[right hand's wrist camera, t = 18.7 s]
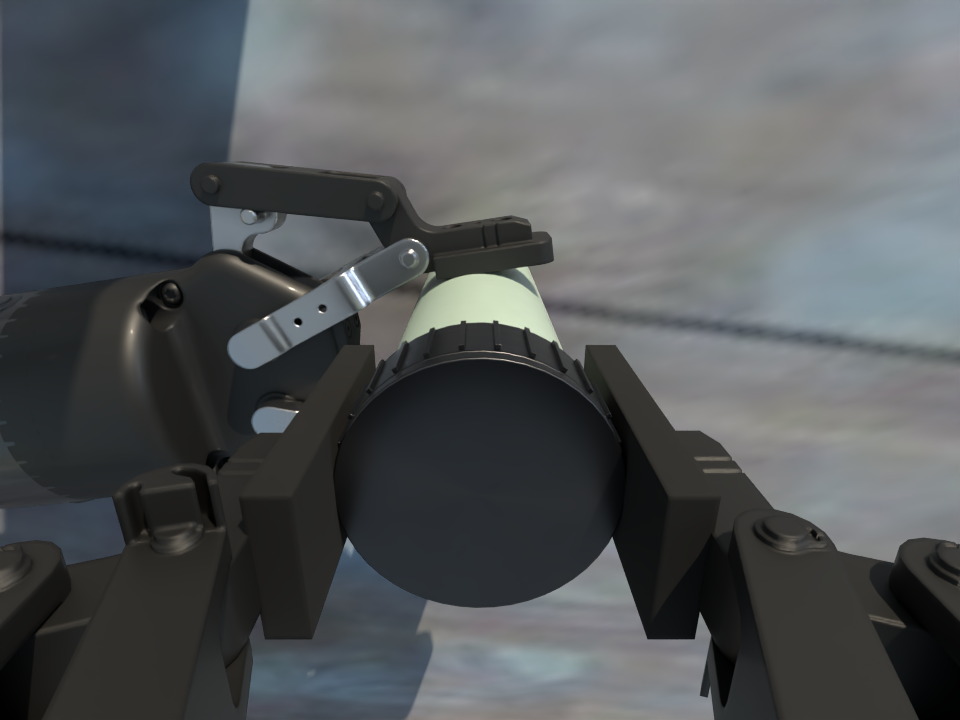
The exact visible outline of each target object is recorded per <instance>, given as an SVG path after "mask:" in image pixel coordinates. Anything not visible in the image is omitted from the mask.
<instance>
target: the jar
mask: <svg viewBox="0 0 960 720" xmlns="http://www.w3.org/2000/svg"><path fill="white" fill-rule="evenodd" d="M465 320H466V323H478V322H486V323H493V320H495V321H498V322H499V324H504V325H509V326H513V327H518V328H521V329H523V330H524V327H527V328H529V329H530V332H532V333H535V334H537V335H538V336H540V337H542V338H544V339H546V340H548V341H550V342H552V341H553V340H554V341H556V342H557V343H558V346H559V348H560V349H562V347H561V345H560V342H559V340H558V338H557V335H556V333H555V330H554V328H553V326H552V323H551V321H550V318H549V316H548V314H547V311H546V309H545V306H544V304H543V302H542V299H541V297H540V294H539V292H538V290H537V287H536V285H535V283H534V280H533V278H532V275H531V273H530V271H529V268H528V267H521V268H514V269H507V270H500V271H493V272H487V273H480V274H471V275H464V276H459V277H452V278H445V279H438V280H437V279H436V273H435V272H429V275H428V277H427V279H426V282H425V284H424V287H423V289H422V291H421V294H420V296H419V299H418V301H417V303H416V306H415V308H414V311H413V313H412V315H411V318H410V320H409V322H408V325H407V327H406V330H405V332H404V334H403V337H402V339H401V342H400V344H399V346H398V349H400V347H401V344H402V343H403V342H404V341H407V342H408V343H409V342H410V341H412V340H414V339H415V338H417V337H419V336H421V335H424V334H426V333H428V332H429V330H430V328H433V327H435V329H440V328H443V327H446V326H450V325H457V324H461V321H465ZM398 349H397V350H398Z"/></svg>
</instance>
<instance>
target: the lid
mask: <svg viewBox="0 0 960 720" xmlns="http://www.w3.org/2000/svg"><path fill="white" fill-rule="evenodd" d="M347 418H348V419H349V420H348V422H347V424H346V426H345V429H344V431H343V433H342V435H341V437H340V439H339V441H338V444H337V446H338V447H339V449H338V452H337V455H336V459H335V465H334V472H333V480H334V490H335V499H336V507H337V512H338V515H339V519H340V522H341V524H342V526H343V528H344V530H345V532H346V535H347V537H348V538H349V540H350V541H351V543H352V544H353V546H354V547H355V549H356V550H357V552H358V553H359V554H360V555H361V556H362V557H363V559H364V560H365V561H366V562H367V563H368V564H369V565H370V566H371V567H372V568H373V569H375V570H376V571H377V572H378V573H379V574H380V575H382V576H383V577H385V578H386V579H387V580H389V581H390V582H392V583H393V584H395V585H397V586H398V587H400V588H402V589H404V590H406V591H408V592H410V593H412V594H415V595H417V596H420V597H422V598H425V599H428V600H431V601H435V602H439V603H442V604H448V605H454V606H460V607H474V608H482V607H499V606H506V605H513V604H517V603H521V602H525V601H529V600H532V599H534V598H537V597H540V596H543V595H545V594H547V593H550V592H552V591H554V590H556V589H558V588H560V587H561V586H563V585H565V584H566V583H568V582H569V581H571V580H573V579H574V578H575V577H577V576H578V575H579V574H580V573H582V572H583V571H584V570H585V569H587V568H588V567H589V566H590V565H591V564H592V563H593V562H594V561H595V559H596V558H597V557H598V556H599V555H600V554H601V552H602V551H603V550H604V548H605V547H606V546H607V544H608V543H609V541H610V539H611V538H612V536H613V534H614V532H615V530H616V528H617V526H618V523H619V521H620V518H621V515H622V512H623V504H624V495H625V486H626V464H625V460H624V456H623V452H622V448H621V446H622V441H621V439H620V437H619V435H618V433H617V431H616V429H615V427H614V425H613V423H612V421H611V418H612V415H611V413H610V411H609V409H608V407H607V405H606V403H605V401H604V399H603V397H602V395H601V393H600V391H599V389H598V387H597V385H596V384H595V382H593V383H590V381H589V379H588V378H587V376H586V373H585V371H584V369H583V367H582V365H581V363H580V361H579V360H578V359H576V360H575V361H574V360H573V359H572V358H571V357H570V356H568V355H567V354H566V353H565V352H564V351H563V350H562V349H560V348H559V346H558V343H557V342H556V341H554V340H553V341H552V342H550V341H548V340H546V339H544V338H542V337H540V336H538V335H537V334H535V333H532V332H530V329H529V328H527V327H524V330H523V329H521V328H518V327H513V326H509V325H504V324H499V322H498V321H495V320H493V323H486V322H478V323H466V320H465V321H461V324H457V325H450V326H446V327H443V328H440V329H435V327H433V328H430V330H429V332H428V333H426V334H424V335H421V336H419V337H417V338H415V339H414V340H412V341H410V342H409V343H408V342H407V341H404V342H403V343H402V344H401V347H400V349H398V350H397V351H396V352H395V353H394V354H392V355H391V356H390V357H389V358H388V359H387V360H386V361H384V360H383V359H382V360H381V361H380V362H379V364H378V366H377V369H376V371H375V373H374V375H373V377H372V379H371V380H370V382H369V384H368V383H366V382H365V383H364V385H363V387H362V389H361V391H360V393H359V395H358V397H357V399H356V401H355V403H354V405H353V407H352V409H351V411H350V413H349V415H348V417H347Z"/></svg>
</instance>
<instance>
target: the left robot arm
mask: <svg viewBox="0 0 960 720" xmlns="http://www.w3.org/2000/svg"><path fill="white" fill-rule="evenodd" d="M190 185H191V189H192V191H193V193H194V195H195V196H196V197H197V199H199V200H200V201H201V202H202V203H204V204H206V205H209V207H210V220H211V233H212V246H213V251H212V252H209V253H207V254H206V255H204V256H203V257H202V258H200V259H199V260H198V261H197V262H196V263H195V264H194V265H193V266H191V267H189V268H184V269H177V270H170V271H163V272H157V273H150V274H143V275H137V276H130V277H123V278H116V279H110V280H103V281H96V282H90V283H83V284H76V285H69V286H63V287H56V288H50V289H43V290H37V291H30V292H23V293H16V294H9V295H3V296H0V509H9V508H24V507H35V506H43V505H51V504H59V503H67V502H69V503H81V502H86V501H90V500H93V499H98V498H106V497H112V495H113V494H114V493H115V492H116V491H117V490H118V489H119V488H120V487H121V485H123V484H124V483H126V482H128V481H129V480H131V479H133V478H134V477H136V476H138V475H140V474H143V473H145V472H148V471H150V470H153V469H156V468H159V467H164V466H169V465H173V464H185V463H196V464H201V465H206V466H209V467H210V468H211V469H212V470H214V471H215V472H216V475H218V472H219V470H220V469H221V468H222V467H223V465H224V464H225V463H228V459H229V458H230V457H231V456H232V454H233V453H234V452H235V451H236V450H237V448H238V447H239V446H240V445H241V444H243V443H244V442H246V441H248V440H249V439H251V438H252V437H254V436H256V435H257V434H259V433H283V432H284V431H285V429H286V428H287V426H288V425H289V423H290V422H291V421H292V419H293V418H294V416H295V415H296V413H297V412H298V411H299V409H300V408H301V406H302V405H303V403H304V402H305V401H306V399H307V398H308V396H309V395H310V393H311V392H312V391H313V389H314V388H315V386H316V385H317V383H318V382H319V381H320V379H321V378H322V376H323V375H324V373H325V372H326V371H327V369H328V368H329V366H330V365H331V363H332V362H333V360H334V359H335V358H336V356H337V355H338V353H339V352H340V350H341V349H342V348H343V346H344V345H360V329H361V324H360V320H359V315H358V311H360V310H362V309H363V308H365V307H366V306H367V305H369V304H370V303H371V302H373V301H374V300H376V299H378V298H380V297H381V296H383V295H385V294H387V293H389V292H391V291H392V290H394V289H396V288H398V287H400V286H402V285H403V284H405V283H407V282H409V281H411V280H413V279H414V278H416V277H418V276H420V275H421V274H423V273H429V272H435V273H436V279H437V280H438V279H445V278H452V277H459V276H464V275H471V274H480V273H487V272H493V271H500V270H507V269H514V268H521V267H528V266H535V265H541V264H546V263H550V262H552V261H554V256H553V246H552V238H551V236H550V235H549V234H548V233H547V232H532V231H531V224H530V223H529V221H528V220H527V219H524V218H520V217H516V216H504V217H498V218H491V219H485V220H478V221H471V222H465V223H458V224H451V225H445V226H433V225H430V224H427V223H426V222H424V221H423V220H422V219H421V218H420V217H419V216H418V215H417V213H416V211H415V210H414V208H413V206H412V204H411V203H410V201H409V199H408V197H407V195H406V190H405V187H404V186H403V184H402V183H401V182H400V181H399V180H398V179H396V178H394V177H390V176H380V175H370V174H360V173H351V172H341V171H331V170H321V169H311V168H301V167H291V166H282V165H272V164H262V163H252V162H219V163H203V164H200V165H198V166H197V167H196V168H195V169H194V170H193V172H192V174H191V177H190ZM287 214H296V215H306V216H316V217H326V218H336V219H346V220H356V221H367V222H369V223H370V224H371V226H372V228H373V229H374V231H375V233H376V234H377V236H378V238H379V239H380V241H381V243H382V244H383V245H382V246H380V247H378V248H376V249H374V250H373V251H371V252H369V253H367V254H364V255H362V256H360V257H359V258H357V259H355V260H353V261H351V262H350V263H348V264H346V265H344V266H343V267H341V268H339V269H337V270H335V271H334V272H332V273H330V274H328V275H327V276H325V277H323V278H321V279H317V278H314V277H312V276H310V275H308V274H306V273H304V272H302V271H300V270H298V269H296V268H294V267H292V266H290V265H288V264H286V263H284V262H282V261H280V260H278V259H276V258H274V257H272V256H270V255H268V254H265V253H263V252H261V251H259V250H257V249H255V248H253V241H254V239H255V237H256V236H257V235H258V234H263V233H267V232H269V231H272V230H275V229H277V228H279V227H281V226H282V225H283V223H284V222H285V220H286V215H287Z"/></svg>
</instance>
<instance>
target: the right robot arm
mask: <svg viewBox="0 0 960 720" xmlns="http://www.w3.org/2000/svg"><path fill="white" fill-rule="evenodd" d="M375 371H376V367H375V354H374V345H344V346H343V348H342V349H341V350H340V352H339V353H338V355H337V356H336V358H335V359H334V360H333V362H332V363H331V365H330V366H329V368H328V369H327V371H326V372H325V373H324V375H323V376H322V378H321V379H320V381H319V382H318V383H317V385H316V386H315V388H314V389H313V391H312V392H311V393H310V395H309V396H308V398H307V399H306V401H305V402H304V403H303V405H302V406H301V408H300V409H299V411H298V412H297V413H296V415H295V416H294V418H293V419H292V421H291V422H290V423H289V425H288V426H287V428H286V429H285V431H284V432H283V433H259V434H257V435H256V436H254V437H252V438H251V439H249V440H248V441H246V442H244V443H243V444H241V445H240V446H239V447H238V448H237V450H236V451H235V452H234V453H233V454H232V456H231V457H230V458H229V459H228V463H225V464H224V465H223V467H222V468H221V469H220V470H219V472H218V475H216V472H215V471H214V470H212V469H211V468H210V467H209V466H206V465H201V464H196V463H185V464H173V465H169V466H164V467H159V468H156V469H153V470H150V471H148V472H145V473H143V474H140V475H138V476H136V477H134V478H133V479H131V480H129V481H128V482H126V483H124V484H123V485H121V487H120V488H119V489H118V490H117V491H116V492H115V493H114V494H113V495H112V498H113V502H114V505H115V509H116V512H117V516H118V519H119V523H120V526H121V530H122V533H123V537H124V540H125V544H126V546H125V548H124V550H123V552H122V554H118V555H114V556H110V557H105V558H100V559H96V560H91V561H86V562H81V563H76V564H71V565H66V563H65V560H64V557H63V554H62V551H61V549H60V548H59V547H58V546H56V545H55V544H54V543H52V542H46V541H38V540H35V541H27V542H20V543H13V544H9V545H5V547H0V720H246V713H247V705H248V697H249V688H250V680H251V672H252V664H253V657H252V650H251V645H250V640H249V635H250V633H251V631H252V629H253V627H254V625H255V623H256V621H257V619H258V617H259V614H260V615H261V620H262V626H263V631H264V636H265V639H312V638H313V635H314V632H315V629H316V626H317V623H318V620H319V617H320V615H321V612H322V609H323V606H324V603H325V600H326V597H327V594H328V591H329V588H330V585H331V583H332V580H333V577H334V574H335V571H336V568H337V565H338V562H339V559H340V556H341V553H342V551H343V548H344V545H345V542H346V539H347V535H346V532H345V530H344V528H343V526H342V524H341V522H340V519H339V515H338V512H337V507H336V499H335V490H334V480H333V472H334V465H335V459H336V455H337V452H338V449H339V447H338V446H337V444H338V441H339V439H340V437H341V435H342V433H343V431H344V429H345V426H346V424H347V422H348V420H349V419H348V418H347V417H348V415H349V413H350V411H351V409H352V407H353V405H354V403H355V401H356V399H357V397H358V395H359V393H360V391H361V389H362V387H363V385H364V383H365V382H366V383H368V384H369V382H370V380H371V379H372V377H373V375H374V373H375ZM584 371H585V373H586V376H587V378H588V379H589V381H590V383H593V382H595V384H596V385H597V387H598V389H599V391H600V393H601V395H602V397H603V399H604V401H605V403H606V405H607V407H608V409H609V411H610V413H611V415H612V418H611V421H612V423H613V425H614V427H615V429H616V431H617V433H618V435H619V437H620V439H621V441H622V446H621V448H622V452H623V456H624V460H625V464H626V486H625V495H624V504H623V512H622V515H621V518H620V521H619V523H618V526H617V528H616V530H615V532H614V534H613V536H612V537H613V540H614V543H615V546H616V549H617V552H618V554H619V557H620V560H621V563H622V566H623V569H624V572H625V575H626V578H627V581H628V584H629V586H630V589H631V592H632V595H633V598H634V601H635V604H636V607H637V610H638V613H639V616H640V618H641V621H642V624H643V627H644V630H645V633H646V636H647V639H695V634H696V629H697V624H698V618H699V613H700V612H701V614H702V617H703V619H704V621H705V623H706V625H707V627H708V629H709V631H710V633H711V640H710V645H709V650H708V655H707V660H706V665H705V670H704V675H703V680H702V685H701V692H700V696H703V697H707V698H708V693H709V688H710V687H711V695H712V703H713V712H714V720H960V544H956V543H954V542H950V541H946V540H937V539H930V538H918V539H909V540H907V541H906V542H905V543H903V544H902V545H901V546H900V547H899V550H898V553H897V556H896V559H895V562H894V563H891V562H886V561H881V560H876V559H872V558H867V557H862V556H857V555H852V554H847V553H844V552H840V551H837V549H836V547H835V545H834V543H833V542H832V541H831V539H830V538H829V537H828V536H827V534H826V533H825V532H824V531H822V530H821V529H819V528H818V527H817V526H815V525H814V524H812V523H811V522H809V521H807V520H805V519H802V518H800V517H798V516H796V515H794V514H791V513H787V512H783V511H779V510H775V509H773V507H772V506H771V505H770V504H769V502H768V501H767V500H766V499H765V498H764V496H763V495H762V494H761V493H760V492H759V490H758V489H757V488H756V487H755V485H754V484H753V483H752V482H751V481H750V479H749V478H748V477H747V476H746V474H745V473H742V470H741V468H740V467H739V466H738V465H737V464H736V462H735V461H732V457H731V456H730V455H729V454H728V453H727V451H726V450H725V449H724V448H723V446H722V445H721V444H720V443H719V442H717V441H715V440H714V439H712V438H710V437H709V436H707V435H706V434H704V433H702V432H701V431H675V430H674V428H673V427H672V425H671V424H670V423H669V421H668V420H667V418H666V417H665V415H664V414H663V413H662V411H661V410H660V408H659V407H658V405H657V404H656V403H655V401H654V400H653V398H652V397H651V395H650V394H649V392H648V391H647V390H646V388H645V387H644V385H643V384H642V382H641V381H640V380H639V378H638V377H637V375H636V374H635V372H634V371H633V370H632V368H631V367H630V365H629V364H628V362H627V361H626V360H625V358H624V357H623V355H622V354H621V352H620V351H619V350H618V348H617V347H616V345H586V349H585V362H584Z"/></svg>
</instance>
